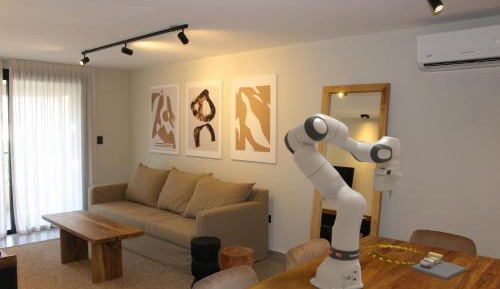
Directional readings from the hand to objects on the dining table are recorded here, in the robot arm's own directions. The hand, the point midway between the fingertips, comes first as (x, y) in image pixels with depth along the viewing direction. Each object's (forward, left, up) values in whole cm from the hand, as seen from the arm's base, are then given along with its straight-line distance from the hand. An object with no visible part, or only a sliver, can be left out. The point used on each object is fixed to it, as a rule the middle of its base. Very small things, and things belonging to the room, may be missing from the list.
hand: (388, 199), depth 185 cm
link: (+14, -15, -30) cm, 36 cm away
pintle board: (+14, -19, -31) cm, 39 cm away
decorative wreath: (+18, +8, -32) cm, 38 cm away
